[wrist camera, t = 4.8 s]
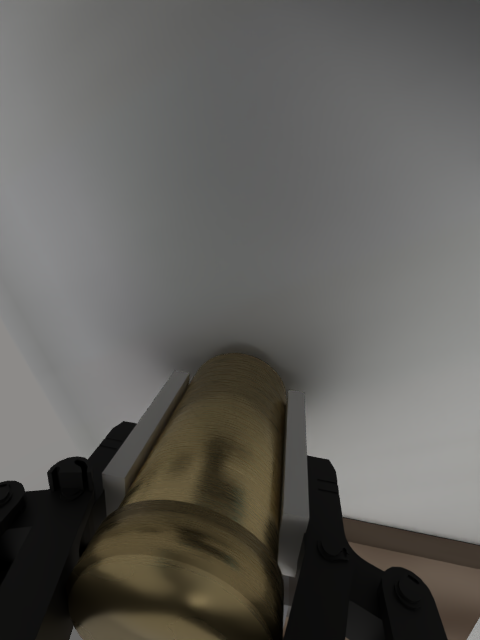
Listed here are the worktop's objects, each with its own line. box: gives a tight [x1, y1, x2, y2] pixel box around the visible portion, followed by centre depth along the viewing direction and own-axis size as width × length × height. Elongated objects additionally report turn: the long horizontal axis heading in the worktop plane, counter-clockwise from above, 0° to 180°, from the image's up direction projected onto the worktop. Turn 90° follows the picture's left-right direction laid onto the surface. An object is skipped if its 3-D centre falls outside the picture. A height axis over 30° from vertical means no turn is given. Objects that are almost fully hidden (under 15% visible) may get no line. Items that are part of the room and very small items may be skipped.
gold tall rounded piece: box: [66, 353, 286, 640], centre depth 12 cm, size 5×5×10 cm
